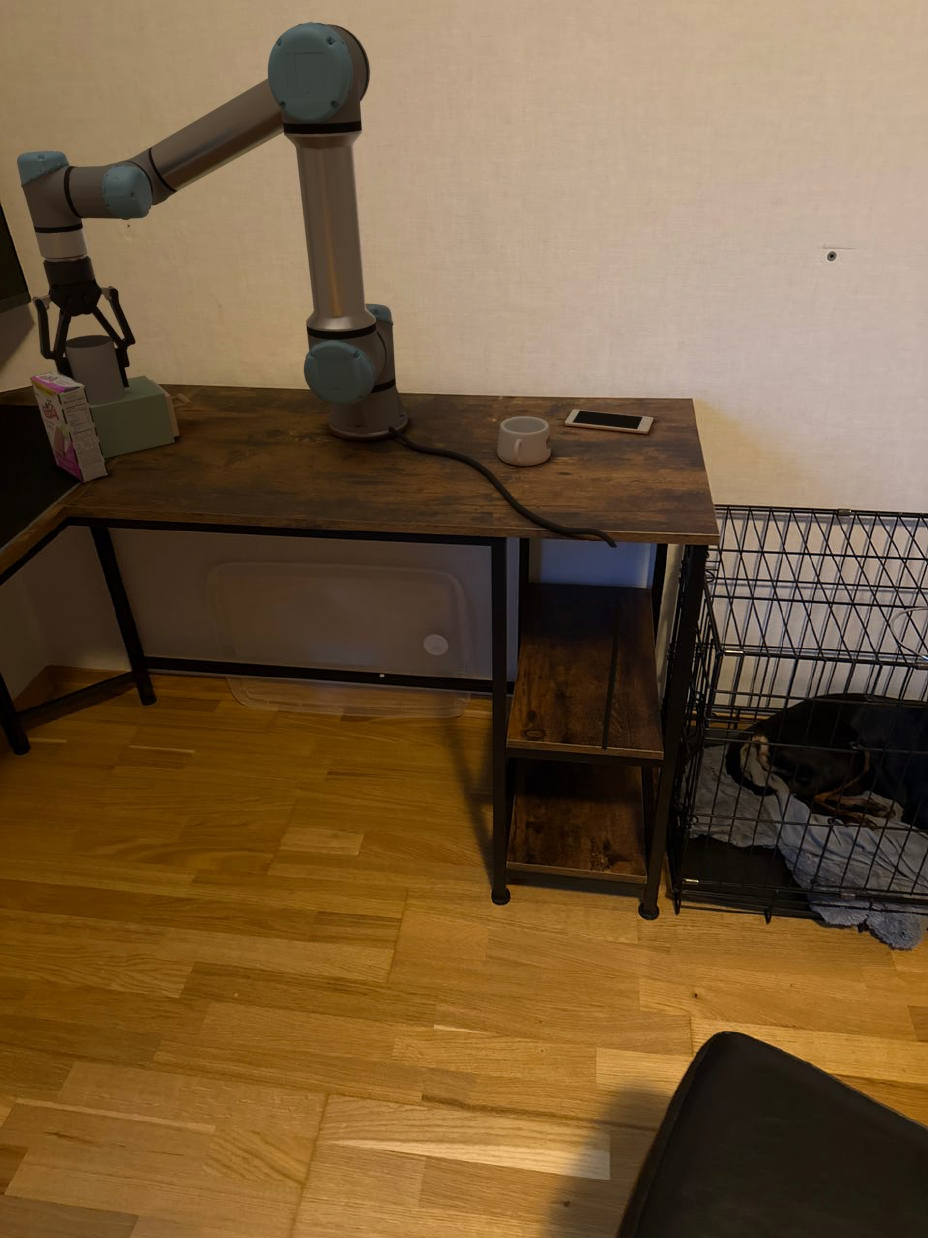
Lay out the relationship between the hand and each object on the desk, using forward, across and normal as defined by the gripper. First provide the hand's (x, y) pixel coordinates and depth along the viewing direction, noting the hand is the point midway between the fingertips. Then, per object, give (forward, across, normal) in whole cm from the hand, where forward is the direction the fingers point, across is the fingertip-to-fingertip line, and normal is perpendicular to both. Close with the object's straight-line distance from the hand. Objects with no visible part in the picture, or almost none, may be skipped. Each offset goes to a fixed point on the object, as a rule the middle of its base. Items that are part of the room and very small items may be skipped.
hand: (100, 390), depth 156 cm
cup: (+2, 0, 0) cm, 2 cm away
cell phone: (+11, -83, +45) cm, 95 cm away
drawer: (+10, -7, -2) cm, 12 cm away
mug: (+11, -59, +49) cm, 78 cm away
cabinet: (+11, -3, -2) cm, 11 cm away
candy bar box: (+11, +8, +8) cm, 16 cm away
